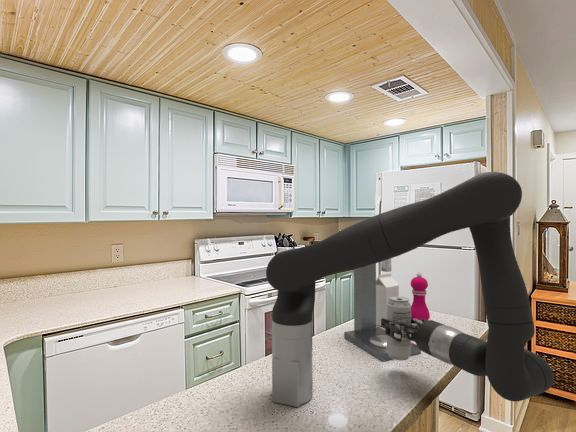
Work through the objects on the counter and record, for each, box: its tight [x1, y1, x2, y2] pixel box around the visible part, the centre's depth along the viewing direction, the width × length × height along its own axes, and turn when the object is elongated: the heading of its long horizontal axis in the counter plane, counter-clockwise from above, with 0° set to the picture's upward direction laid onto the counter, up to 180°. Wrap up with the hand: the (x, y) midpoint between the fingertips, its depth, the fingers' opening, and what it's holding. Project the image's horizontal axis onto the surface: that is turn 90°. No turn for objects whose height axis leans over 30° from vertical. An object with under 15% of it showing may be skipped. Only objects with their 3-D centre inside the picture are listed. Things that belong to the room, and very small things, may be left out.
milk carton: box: [376, 272, 400, 328], centre depth 128 cm, size 7×7×19 cm
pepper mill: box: [410, 272, 431, 320], centre depth 125 cm, size 7×7×20 cm
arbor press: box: [343, 258, 422, 362], centre depth 109 cm, size 20×22×34 cm
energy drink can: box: [386, 296, 412, 361], centre depth 88 cm, size 6×6×15 cm
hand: (392, 320), depth 90 cm, fingers closed on energy drink can, 6 cm apart
